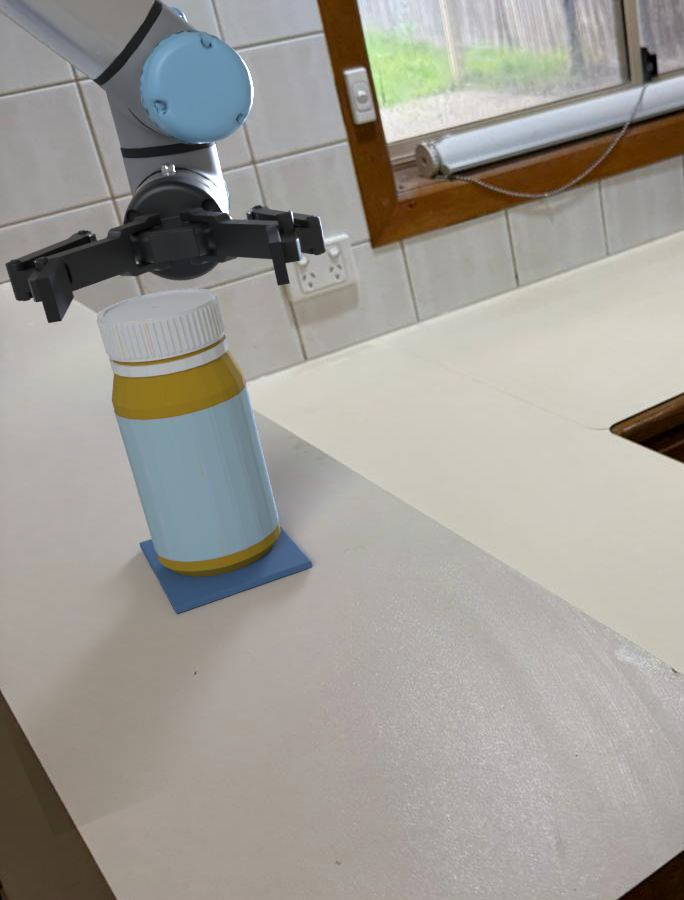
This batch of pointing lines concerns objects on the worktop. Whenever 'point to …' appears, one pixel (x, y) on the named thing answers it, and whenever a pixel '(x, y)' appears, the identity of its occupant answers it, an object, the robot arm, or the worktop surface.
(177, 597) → the blue mat
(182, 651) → the worktop surface
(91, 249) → the robot arm
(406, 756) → the worktop surface
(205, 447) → the bottle
